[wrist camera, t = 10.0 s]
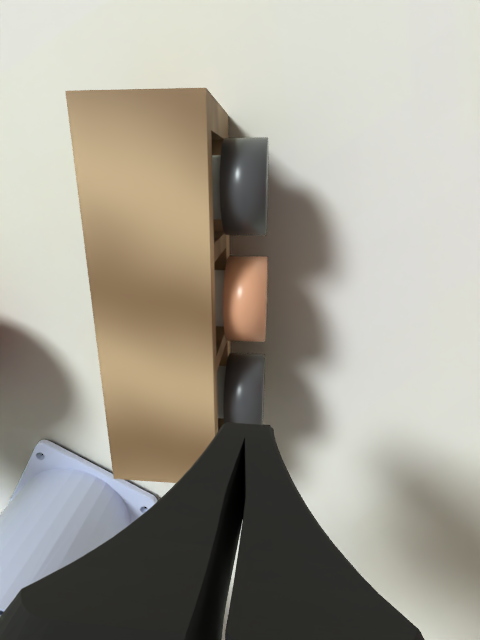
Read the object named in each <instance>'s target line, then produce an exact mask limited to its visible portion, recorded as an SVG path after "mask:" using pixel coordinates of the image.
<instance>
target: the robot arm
mask: <svg viewBox="0 0 480 640" xmlns="http://www.w3.org/2000/svg"><path fill="white" fill-rule="evenodd" d="M40 453H42V454H43V455H41V454H40ZM144 507H147V509H146V508H144ZM242 519H243V523H242ZM241 524H242V530H241ZM240 530H241V537H240V545H239V552H238V558H237V565H236V572H235V578H234V585H233V591H232V597H231V603H230V609H229V615H228V620H227V626H226V631H225V640H424V638H423V636H422V634H421V632H420V630H419V629H418V628H417V627H415V626H414V625H413V624H412V623H411V622H410V621H409V620H408V619H406V618H405V617H404V616H403V615H402V614H401V613H400V612H399V611H397V610H396V609H395V608H394V607H393V606H392V605H391V604H390V603H388V602H387V601H386V600H385V599H384V598H383V597H382V596H381V595H380V594H378V593H377V591H376V590H375V589H374V588H373V587H372V586H371V585H370V584H369V583H368V582H367V581H366V580H365V579H364V578H363V577H362V576H361V575H360V574H359V573H358V572H357V570H356V569H355V568H354V567H353V566H352V565H351V563H350V562H349V561H348V560H347V559H346V558H345V557H344V555H343V554H342V553H341V552H340V551H339V550H338V548H337V547H336V546H335V545H334V544H333V542H332V541H331V540H330V538H329V537H328V536H327V534H326V533H325V532H324V530H323V529H322V528H321V526H320V525H319V524H318V522H317V521H316V519H315V518H314V516H313V515H312V513H311V512H310V510H309V509H308V507H307V505H306V504H305V502H304V501H303V499H302V497H301V495H300V494H299V492H298V490H297V488H296V487H295V485H294V483H293V481H292V479H291V477H290V475H289V473H288V471H287V469H286V466H285V464H284V462H283V460H282V457H281V455H280V452H279V450H278V447H277V444H276V441H275V437H274V432H273V429H272V427H271V426H270V425H259V424H244V423H228V422H226V423H224V424H223V425H222V426H221V428H220V429H219V431H218V433H217V434H216V436H215V437H214V438H213V440H212V441H211V443H210V444H209V445H208V447H207V448H206V449H205V451H204V452H203V453H202V454H201V456H200V457H199V458H198V459H197V461H196V462H195V463H194V464H193V465H192V467H191V468H190V469H189V470H188V471H187V472H186V473H185V474H184V475H183V477H182V478H181V479H180V480H179V481H178V482H177V483H176V484H175V485H174V486H173V487H172V488H171V489H170V490H169V491H168V492H167V493H166V494H165V495H164V496H163V497H162V498H161V499H160V500H159V501H158V502H157V498H156V497H155V496H154V495H152V494H150V493H148V492H146V491H144V490H142V489H141V488H139V487H137V486H135V485H133V484H131V483H129V482H127V481H125V480H123V479H114V477H113V474H112V473H110V472H108V471H106V470H104V469H102V468H100V467H98V466H96V465H95V464H93V463H91V462H89V461H87V460H85V459H83V458H81V457H79V456H77V455H75V454H73V453H72V452H70V451H68V450H66V449H64V448H62V447H60V446H58V445H56V444H54V443H52V442H50V441H48V440H41V441H40V442H39V443H38V444H37V445H36V447H35V449H34V451H33V453H32V455H31V457H30V459H29V461H28V463H27V466H26V468H25V470H24V472H23V474H22V476H21V478H20V480H19V482H18V485H17V487H16V489H15V491H14V493H13V495H12V497H11V499H10V501H9V503H8V506H7V507H6V508H5V509H4V511H3V512H2V513H1V514H0V640H221V638H222V629H223V620H224V613H225V607H226V601H227V596H228V591H229V585H230V580H231V575H232V570H233V565H234V560H235V555H236V550H237V545H238V540H239V535H240Z"/></svg>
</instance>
